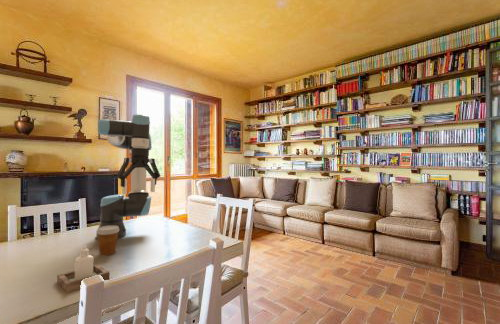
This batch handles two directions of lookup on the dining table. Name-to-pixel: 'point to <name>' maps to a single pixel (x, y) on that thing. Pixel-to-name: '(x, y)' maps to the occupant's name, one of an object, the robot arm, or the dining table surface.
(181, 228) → the dining table surface
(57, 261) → the dining table surface
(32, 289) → the dining table surface
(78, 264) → the eye dropper bottle
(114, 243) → the disposable coffee cup
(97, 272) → the wooden tray
